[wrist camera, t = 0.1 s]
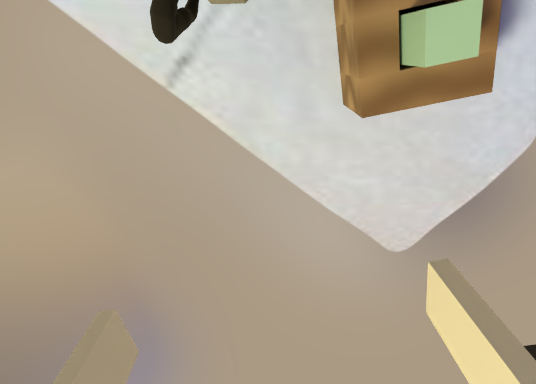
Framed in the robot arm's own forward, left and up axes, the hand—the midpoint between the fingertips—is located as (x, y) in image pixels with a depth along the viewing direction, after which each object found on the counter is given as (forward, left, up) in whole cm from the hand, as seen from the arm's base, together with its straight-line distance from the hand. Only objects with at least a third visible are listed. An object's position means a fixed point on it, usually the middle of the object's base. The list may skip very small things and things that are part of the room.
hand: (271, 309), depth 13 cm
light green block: (-8, +16, -23) cm, 29 cm away
